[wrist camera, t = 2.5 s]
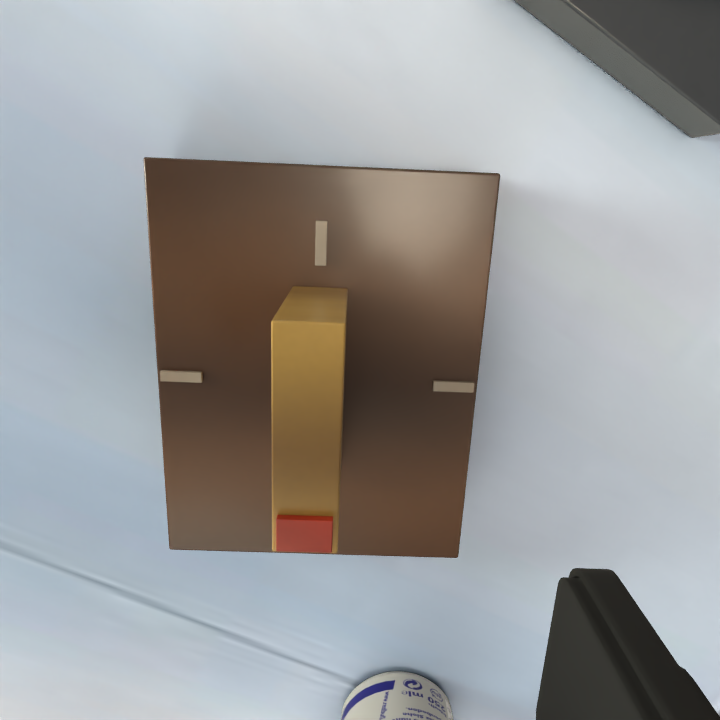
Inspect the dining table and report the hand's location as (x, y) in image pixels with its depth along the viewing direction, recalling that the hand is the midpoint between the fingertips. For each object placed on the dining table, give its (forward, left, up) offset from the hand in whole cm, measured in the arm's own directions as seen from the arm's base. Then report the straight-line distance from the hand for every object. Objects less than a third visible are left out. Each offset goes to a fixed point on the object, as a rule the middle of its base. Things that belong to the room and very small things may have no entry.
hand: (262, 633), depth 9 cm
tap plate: (0, 0, -14) cm, 14 cm away
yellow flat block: (0, 0, -11) cm, 11 cm away
